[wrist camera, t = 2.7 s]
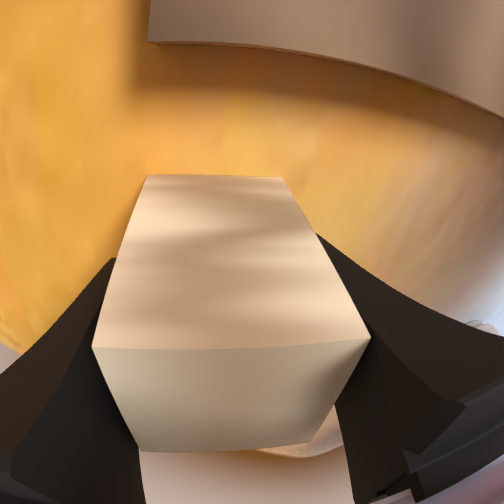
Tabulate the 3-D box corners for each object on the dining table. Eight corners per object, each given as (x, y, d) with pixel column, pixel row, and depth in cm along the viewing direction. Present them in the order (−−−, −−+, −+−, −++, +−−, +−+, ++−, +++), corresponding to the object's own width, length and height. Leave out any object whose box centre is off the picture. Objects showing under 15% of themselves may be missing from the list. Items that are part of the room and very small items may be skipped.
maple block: (282, 177, 11) (371, 337, 5) (266, 281, 13) (309, 441, 8) (147, 175, 10) (91, 346, 4) (155, 282, 13) (140, 451, 7)
